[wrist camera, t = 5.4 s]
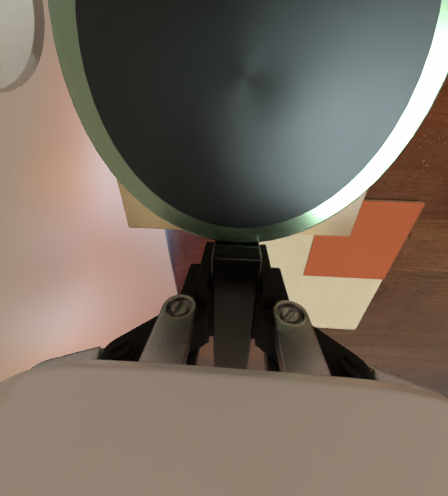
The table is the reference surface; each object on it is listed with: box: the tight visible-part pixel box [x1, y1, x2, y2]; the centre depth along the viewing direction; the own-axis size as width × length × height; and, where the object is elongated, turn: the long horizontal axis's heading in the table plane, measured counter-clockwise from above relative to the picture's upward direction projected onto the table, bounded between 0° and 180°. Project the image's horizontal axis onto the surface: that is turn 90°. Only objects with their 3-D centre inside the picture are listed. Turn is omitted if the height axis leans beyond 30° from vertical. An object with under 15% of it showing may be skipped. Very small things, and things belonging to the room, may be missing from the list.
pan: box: [48, 0, 448, 369], centre depth 8 cm, size 18×10×4 cm, turn 179°
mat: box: [259, 199, 425, 330], centre depth 29 cm, size 22×22×1 cm
